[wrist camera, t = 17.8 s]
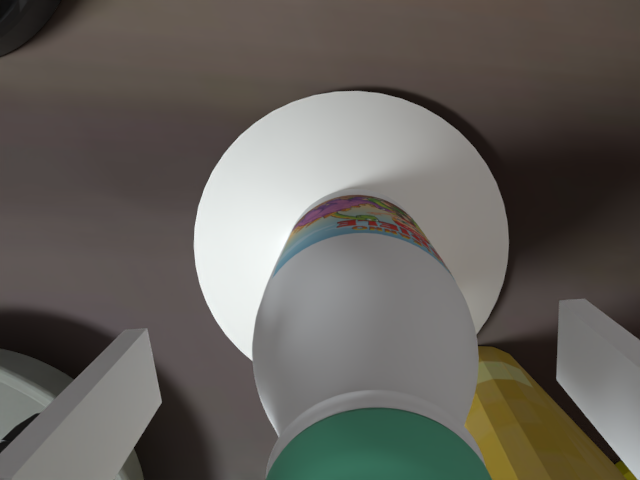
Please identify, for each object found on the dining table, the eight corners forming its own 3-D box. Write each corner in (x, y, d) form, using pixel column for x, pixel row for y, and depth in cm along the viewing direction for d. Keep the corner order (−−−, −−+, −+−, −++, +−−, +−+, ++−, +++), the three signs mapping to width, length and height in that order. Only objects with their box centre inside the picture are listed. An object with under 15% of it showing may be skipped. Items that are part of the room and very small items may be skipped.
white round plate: (176, 108, 27) (170, 107, 26) (503, 76, 26) (509, 74, 25) (221, 393, 31) (217, 401, 30) (502, 377, 30) (508, 386, 29)
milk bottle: (395, 332, 28) (509, 790, 9) (271, 294, 28) (114, 679, 9) (442, 211, 26) (716, 460, 7) (310, 168, 26) (217, 306, 7)
